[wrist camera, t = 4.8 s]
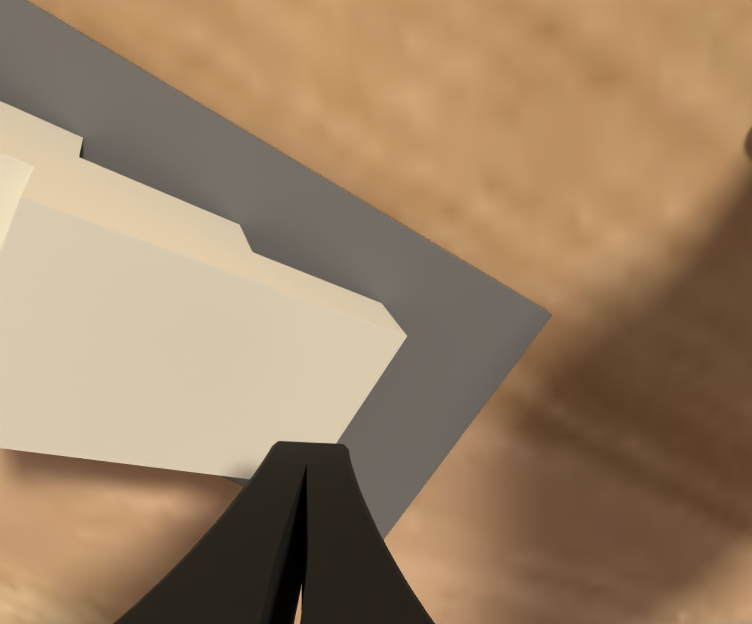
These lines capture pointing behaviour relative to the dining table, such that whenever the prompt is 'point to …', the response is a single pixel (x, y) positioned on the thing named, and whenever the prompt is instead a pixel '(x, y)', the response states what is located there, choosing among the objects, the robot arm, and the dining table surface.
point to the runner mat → (291, 243)
